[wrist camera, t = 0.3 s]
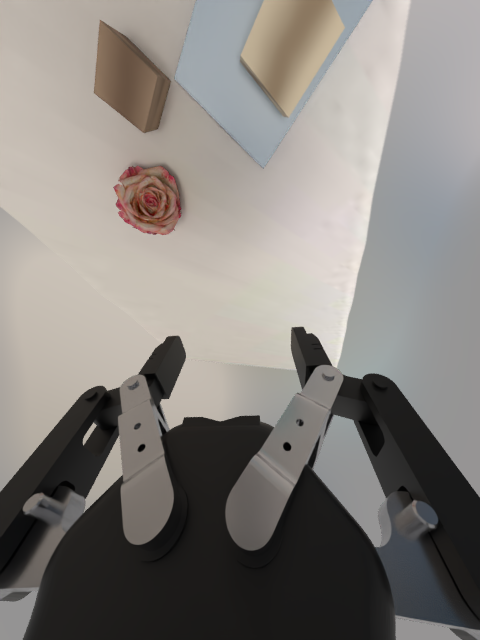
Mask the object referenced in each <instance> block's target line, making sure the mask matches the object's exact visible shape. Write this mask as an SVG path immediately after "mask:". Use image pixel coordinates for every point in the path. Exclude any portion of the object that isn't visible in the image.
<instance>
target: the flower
mask: <svg viewBox="0 0 480 640" xmlns="http://www.w3.org/2000/svg"><path fill="white" fill-rule="evenodd" d="M132 167H133V166H132ZM132 167H129V169H127V170H125V171H124V173H123V174H122V175H121V177H120V179H119V181H120V182H121V183H122V184H123V186H122V185H119V184H117V185H116V186H115V187H113V188H114V189H115V192H116V194H117V196H118V200H117V203H116V206H117V207H118V208H119V209H120V210H121V211H119V212H118V214H119V216H120V217H121V218H122V219H123V218H124V219H123V220H124V221H125V222H126V223H128V224H131V225H132V226H134V228H136V229H138V230H140V231H141V232H143V233H149V234H151V233H152V234H153V235H156V234H162V235H166V234H169V233H170V232H172V231H173V230H175V229H174V227H175V225H176V223H177V221H178V218H180V217H181V213H180V210H181V207H180V199H179V193H178V189H177V185H176V182H175V179H174V177H173V176H171V175H169V172H168V171H167V170H165V169H164V168H163V167H161V166H157V167H153V168H148V169H143V168H141V167H139V166H136V167H133V168H132Z"/></svg>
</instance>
